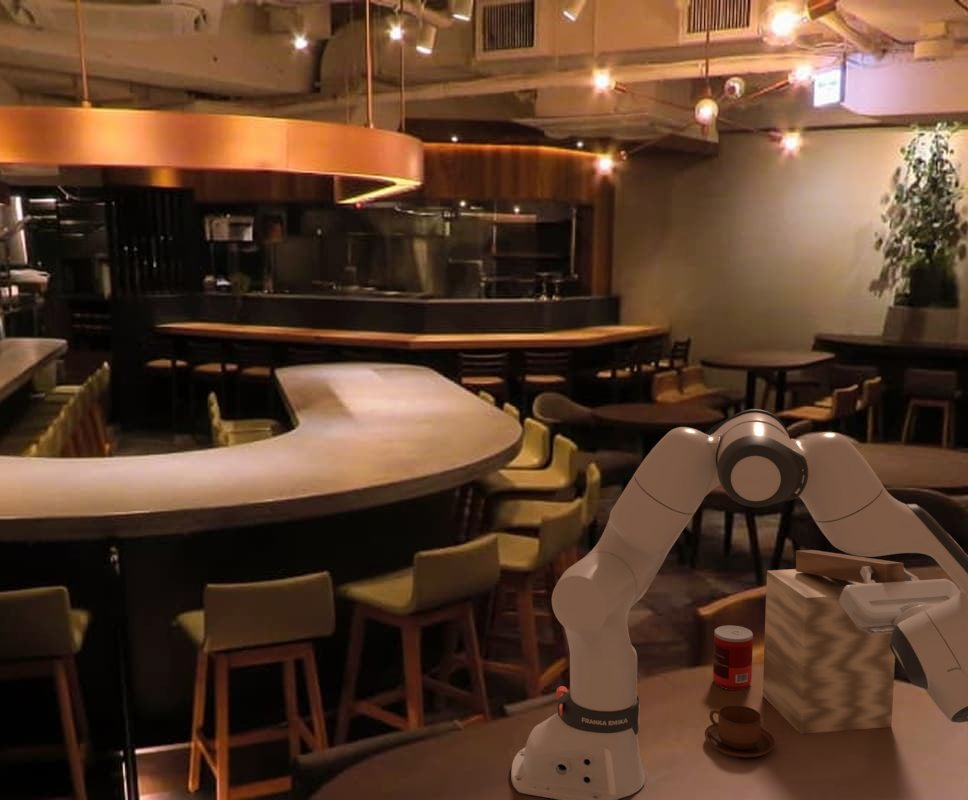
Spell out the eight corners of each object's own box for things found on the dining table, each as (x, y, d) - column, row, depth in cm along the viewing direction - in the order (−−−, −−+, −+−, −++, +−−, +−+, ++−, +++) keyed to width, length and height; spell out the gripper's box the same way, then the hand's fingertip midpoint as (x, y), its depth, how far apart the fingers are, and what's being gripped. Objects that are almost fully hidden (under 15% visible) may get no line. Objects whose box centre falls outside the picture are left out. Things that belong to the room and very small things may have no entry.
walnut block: (885, 587, 157) (884, 563, 157) (796, 571, 180) (795, 550, 180) (904, 586, 158) (903, 563, 159) (813, 570, 181) (812, 549, 181)
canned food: (755, 679, 192) (757, 629, 191) (744, 694, 186) (746, 642, 184) (720, 671, 196) (721, 622, 195) (707, 685, 190) (709, 634, 188)
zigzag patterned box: (800, 733, 169) (806, 591, 166) (762, 695, 185) (767, 564, 181) (891, 726, 172) (898, 586, 168) (846, 689, 187) (852, 560, 184)
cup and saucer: (696, 754, 162) (697, 721, 162) (713, 725, 173) (714, 694, 172) (766, 770, 157) (767, 736, 156) (779, 739, 167) (780, 707, 167)
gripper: (856, 647, 151) (820, 583, 162) (969, 638, 154) (926, 576, 165) (867, 621, 147) (830, 558, 158) (984, 613, 150) (939, 552, 161)
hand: (880, 567), depth 161 cm, fingers open, 4 cm apart
